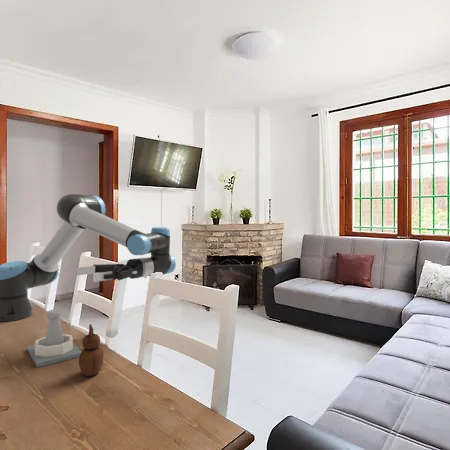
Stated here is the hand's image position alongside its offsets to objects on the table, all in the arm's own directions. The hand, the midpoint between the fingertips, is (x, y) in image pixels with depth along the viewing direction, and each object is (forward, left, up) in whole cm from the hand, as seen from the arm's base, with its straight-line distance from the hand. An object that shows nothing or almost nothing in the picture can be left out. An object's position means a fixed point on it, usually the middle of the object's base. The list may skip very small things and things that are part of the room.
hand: (84, 274), depth 117 cm
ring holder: (+9, -5, -24) cm, 26 cm away
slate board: (+9, -5, -25) cm, 27 cm away
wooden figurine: (+16, +16, -25) cm, 34 cm away
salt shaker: (+9, -5, -24) cm, 26 cm away
